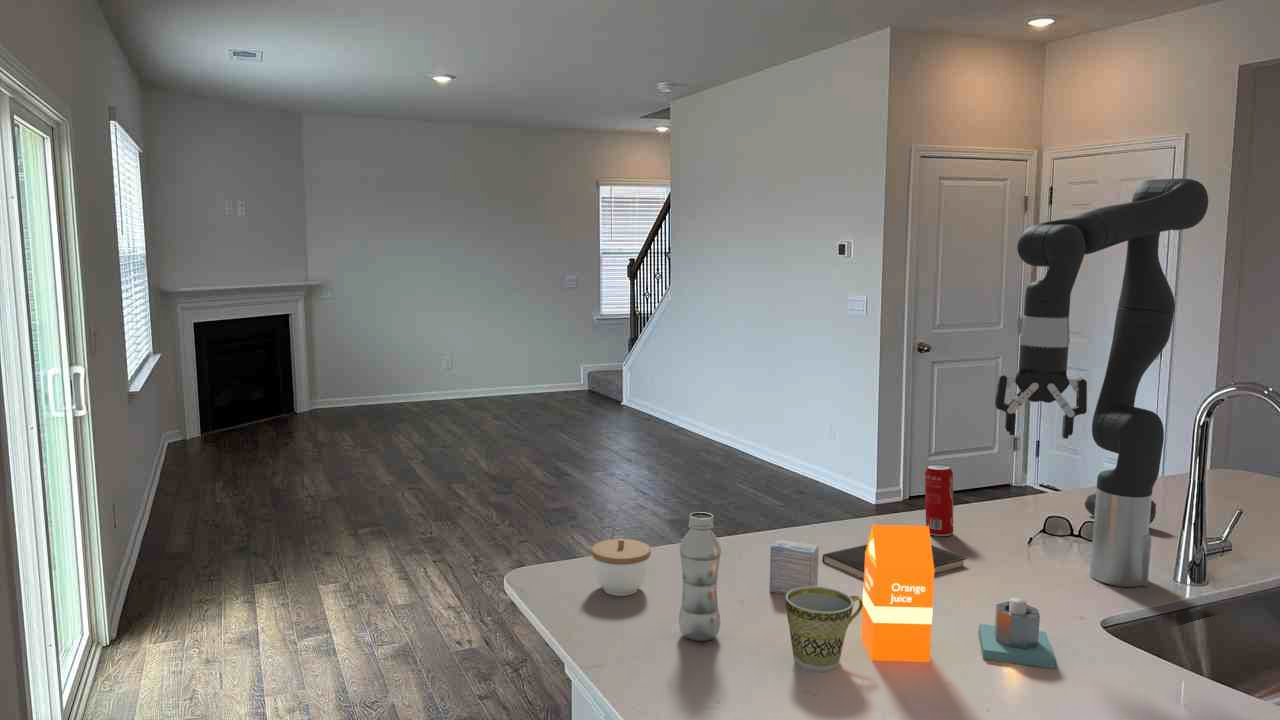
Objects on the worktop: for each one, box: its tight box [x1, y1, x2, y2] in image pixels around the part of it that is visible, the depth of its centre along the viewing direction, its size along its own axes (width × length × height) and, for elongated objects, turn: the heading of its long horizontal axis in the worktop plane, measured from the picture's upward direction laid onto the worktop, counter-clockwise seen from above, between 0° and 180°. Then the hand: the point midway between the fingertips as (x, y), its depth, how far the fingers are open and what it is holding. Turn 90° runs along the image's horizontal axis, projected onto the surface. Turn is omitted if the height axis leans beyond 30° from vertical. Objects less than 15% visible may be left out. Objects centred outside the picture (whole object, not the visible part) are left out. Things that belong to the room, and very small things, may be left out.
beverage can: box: [924, 463, 954, 537], centre depth 196 cm, size 6×6×15 cm
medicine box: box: [769, 539, 820, 595], centre depth 162 cm, size 8×4×9 cm, turn 65°
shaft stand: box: [978, 597, 1056, 669], centre depth 140 cm, size 10×10×8 cm
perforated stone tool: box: [1084, 493, 1157, 525], centre depth 206 cm, size 15×5×7 cm, turn 37°
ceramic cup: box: [784, 586, 863, 673], centre depth 135 cm, size 13×10×10 cm
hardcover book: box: [822, 543, 967, 579], centre depth 178 cm, size 16×23×2 cm
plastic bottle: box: [678, 511, 722, 642], centre depth 142 cm, size 6×7×20 cm
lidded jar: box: [590, 538, 652, 597], centre depth 162 cm, size 11×11×9 cm
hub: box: [994, 601, 1041, 650], centre depth 140 cm, size 6×6×5 cm
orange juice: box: [860, 524, 935, 663], centre depth 138 cm, size 8×9×20 cm
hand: (1037, 436), depth 155 cm, fingers open, 8 cm apart
